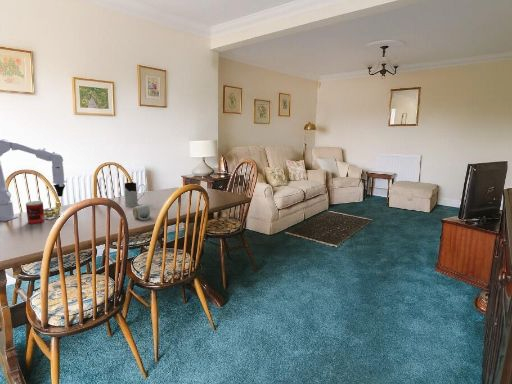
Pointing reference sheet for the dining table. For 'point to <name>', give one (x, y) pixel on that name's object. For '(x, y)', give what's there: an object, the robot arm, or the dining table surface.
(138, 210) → the ceramic mug
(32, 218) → the canned food
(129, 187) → the glass holder
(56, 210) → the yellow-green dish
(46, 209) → the cap plate
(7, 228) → the dining table surface
